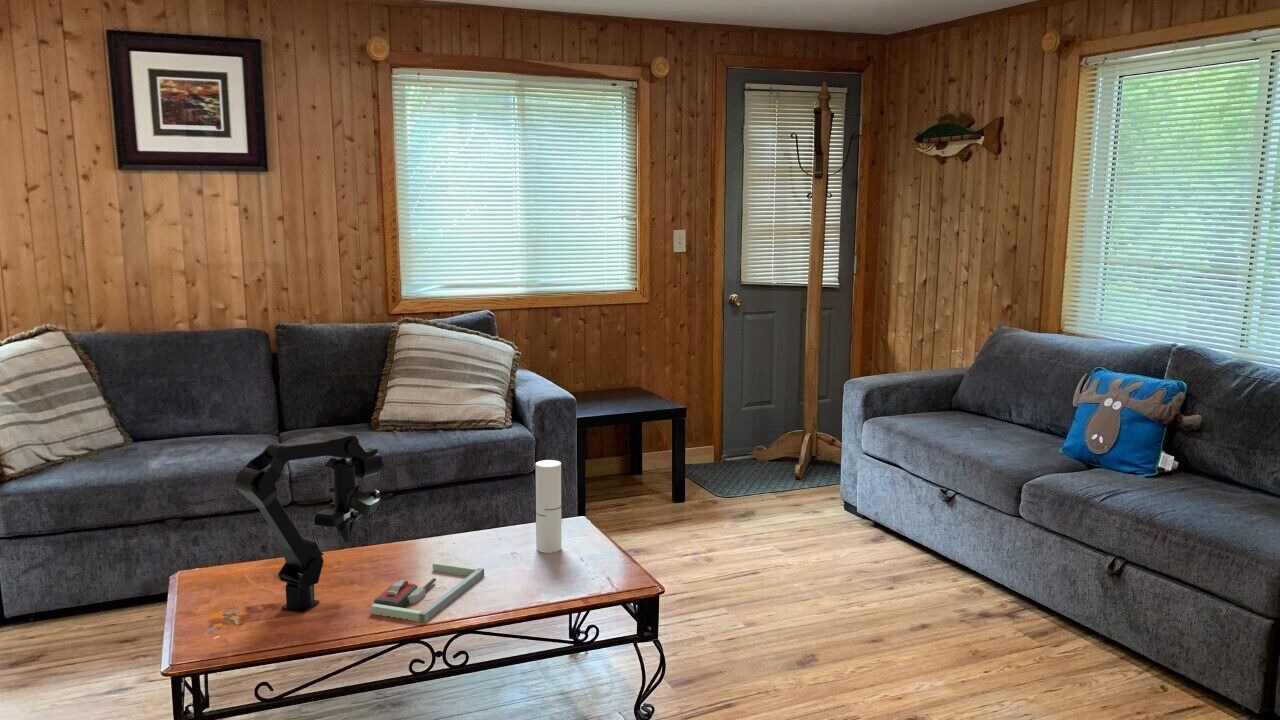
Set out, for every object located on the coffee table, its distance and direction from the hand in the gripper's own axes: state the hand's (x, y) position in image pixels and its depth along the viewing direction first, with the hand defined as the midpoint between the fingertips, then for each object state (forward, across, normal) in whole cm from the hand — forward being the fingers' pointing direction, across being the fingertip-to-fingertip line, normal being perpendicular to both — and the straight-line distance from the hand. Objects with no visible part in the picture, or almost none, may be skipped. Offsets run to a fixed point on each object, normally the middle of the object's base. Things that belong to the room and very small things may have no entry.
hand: (347, 541), depth 242 cm
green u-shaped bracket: (+12, +3, -22) cm, 25 cm away
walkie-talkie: (+13, -1, -17) cm, 21 cm away
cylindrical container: (+12, +42, -37) cm, 57 cm away
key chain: (+13, -26, +16) cm, 33 cm away
